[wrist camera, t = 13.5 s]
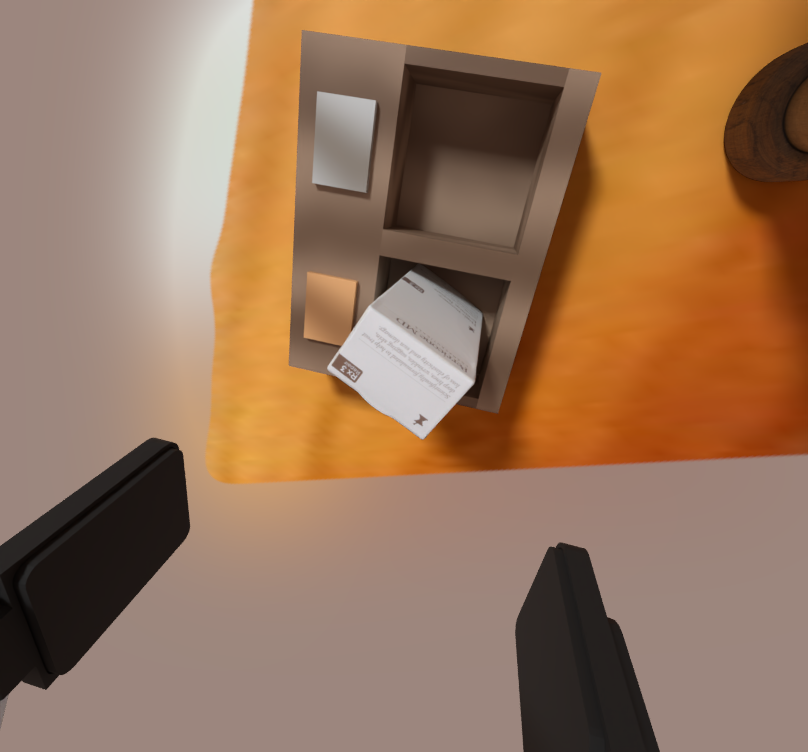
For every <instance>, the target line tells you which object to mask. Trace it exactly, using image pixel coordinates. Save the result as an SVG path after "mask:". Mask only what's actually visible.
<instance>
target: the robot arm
mask: <svg viewBox="0 0 808 752" xmlns="http://www.w3.org/2000/svg"><path fill="white" fill-rule="evenodd" d="M189 521H190V520H189V510H188V500H187V490H186V479H185V470H184V459H183V453H182V451H180V450H179V447H178V445H177V444H176V443H173V442H169V441H165V440H161V439H157V438H151V439H149V440H147V441H145V442H144V443H142V444H141V445H140V446H138V447H137V448H135V449H134V450H133V451H131V452H130V453H129V454H127V455H126V456H124V457H123V458H122V459H120V460H119V461H117V462H116V463H115V464H113V465H112V466H110V467H109V468H108V469H106V470H105V471H104V472H102V473H101V474H99V475H98V476H97V477H95V478H94V479H92V480H91V481H90V482H88V483H87V484H86V485H84V486H83V487H81V488H80V489H79V490H78V491H76V492H74V493H73V494H72V495H70V496H69V497H67V498H66V499H65V500H63V501H62V502H61V503H59V504H58V505H56V506H55V507H54V508H52V509H51V510H49V512H47V513H45V514H44V515H42V516H41V517H40V518H38V519H37V520H36V521H34V522H33V523H32V524H30V525H29V526H27V527H26V528H25V529H23V530H22V531H20V532H19V533H18V534H16V535H15V536H13V537H12V538H11V539H9V540H8V541H7V542H5V543H4V544H2V545H1V546H0V728H1V724H2V720H3V716H4V712H5V707H6V703H7V699H8V695H9V693H10V692H11V691H12V690H13V689H14V688H15V687H16V686H17V685H18V684H19V683H20V681H23V682H25V683H28V684H30V685H33V686H36V687H39V688H42V689H45V690H46V689H47V688H48V687H49V686H50V685H51V684H52V682H54V680H55V679H56V678H57V677H58V676H59V675H63V674H65V673H67V672H68V671H70V670H71V669H72V668H73V667H74V666H75V665H76V664H77V662H78V661H79V660H80V659H81V658H82V657H83V656H84V654H85V653H86V652H87V651H88V650H89V649H90V648H91V647H92V645H93V644H94V643H95V642H96V641H97V640H98V639H99V637H100V636H101V635H102V634H103V633H104V632H105V631H106V629H107V628H108V627H109V626H110V625H111V624H112V623H113V621H114V620H115V619H116V618H117V617H118V616H119V615H120V613H121V612H122V611H123V610H124V609H125V608H126V606H127V605H128V604H129V603H130V602H131V601H132V600H133V598H134V597H135V596H136V595H137V594H138V593H139V592H140V590H141V589H142V588H143V587H144V586H145V585H146V584H147V582H148V581H149V580H150V579H151V578H152V577H153V576H154V574H155V573H156V572H157V571H158V570H159V569H160V568H161V566H162V565H163V564H164V563H165V562H166V561H167V560H168V558H169V557H170V556H171V555H172V554H173V553H174V551H175V550H176V549H177V548H178V547H179V546H180V545H181V544H182V542H183V541H184V540H185V539H186V537H187V535H188V533H189V529H190V522H189ZM515 636H516V649H517V664H518V677H519V692H520V706H521V721H522V735H523V749H524V752H660V751H659V748H658V744H657V742H656V738H655V735H654V732H653V729H652V726H651V722H650V719H649V716H648V713H647V710H646V706H645V703H644V700H643V697H642V694H641V691H640V688H639V685H638V681H637V678H636V675H635V672H634V668H633V665H632V662H631V659H630V656H629V653H628V650H627V646H626V643H625V640H624V637H623V634H622V631H621V629H620V627H619V625H618V624H617V622H616V621H615V620H613V619H611V618H608V617H607V615H606V612H605V609H604V605H603V602H602V598H601V595H600V591H599V588H598V585H597V581H596V578H595V574H594V571H593V567H592V564H591V561H590V557H589V554H588V552H587V550H586V549H584V548H580V547H577V546H573V545H568V544H565V543H559V544H558V545H557V546H556V548H555V547H549V548H548V550H547V552H546V555H545V557H544V559H543V561H542V564H541V566H540V568H539V570H538V573H537V575H536V577H535V579H534V582H533V584H532V586H531V588H530V591H529V593H528V595H527V597H526V600H525V602H524V604H523V606H522V609H521V611H520V613H519V615H518V618H517V622H516V630H515Z"/></svg>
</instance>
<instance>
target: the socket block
mask: <svg viewBox="0 0 808 752" xmlns="http://www.w3.org/2000/svg"><path fill="white" fill-rule="evenodd" d="M600 76H601V73H599V72H592V71H585V70H578V69H571V68H564V67H557V66H550V65H543V64H536V63H529V62H522V61H515V60H508V59H501V58H494V57H487V56H480V55H473V54H466V53H459V52H452V51H445V50H438V49H431V48H424V47H417V46H410V45H403V44H396V43H389V42H382V41H375V40H368V39H361V38H354V37H347V36H340V35H333V34H326V33H319V32H312V31H305V30H302V42H301V67H300V93H299V119H298V144H297V170H296V196H295V221H294V247H293V273H292V298H291V324H290V350H289V366H293V367H297V368H301V369H306V370H310V371H314V372H319V373H323V374H327V375H332V376H335V375H333V374H332V373H330V372H329V371H328V369H327V367H328V365H329V364H330V362H331V361H332V359H333V358H334V356H335V355H336V353H337V352H338V351H339V349H340V348H341V346H342V345H343V344H344V342H345V341H346V339H347V338H348V336H349V335H350V333H351V332H352V330H353V329H354V327H355V326H356V324H357V323H358V321H359V320H360V318H361V317H362V315H363V314H364V312H365V311H366V309H367V308H368V307H369V305H370V304H372V303H373V302H374V301H375V300H376V299H377V298H378V297H379V296H381V295H382V294H383V293H385V292H386V291H387V290H388V289H389V288H391V287H392V286H393V285H394V284H395V283H396V282H398V281H399V280H400V279H401V278H402V277H403V276H405V275H406V274H407V273H408V272H409V271H410V270H412V269H413V268H414V267H415V266H416V265H417V264H421V265H423V266H424V267H426V268H427V269H429V270H430V271H432V272H433V273H434V274H436V275H437V276H438V277H440V278H441V279H442V280H444V281H445V282H446V283H448V284H449V285H450V286H451V287H453V288H454V289H455V290H457V291H458V292H459V293H460V294H461V295H463V296H464V297H465V298H466V299H467V300H469V301H470V302H471V303H472V304H473V305H474V306H475V307H477V308H478V309H479V310H480V311H481V313H482V314H483V319H482V328H481V336H480V344H479V352H478V361H477V367H476V378H475V383H474V385H473V386H472V387H471V388H470V389H469V390H468V391H467V392H466V393H465V394H464V395H463V397H462V398H461V399H460V400H459V401H458V402H457V403H456V404H458V405H463V406H467V407H471V408H476V409H480V410H484V411H489V412H493V413H497V414H498V412H499V408H500V405H501V402H502V398H503V395H504V392H505V389H506V385H507V382H508V379H509V375H510V372H511V369H512V366H513V362H514V359H515V356H516V352H517V349H518V346H519V342H520V339H521V336H522V333H523V329H524V326H525V323H526V319H527V316H528V313H529V310H530V306H531V303H532V300H533V296H534V293H535V290H536V287H537V283H538V280H539V277H540V273H541V270H542V267H543V264H544V260H545V257H546V254H547V250H548V247H549V244H550V240H551V237H552V234H553V231H554V227H555V224H556V221H557V217H558V214H559V211H560V208H561V204H562V201H563V198H564V194H565V191H566V188H567V185H568V181H569V178H570V175H571V171H572V168H573V165H574V162H575V158H576V155H577V152H578V148H579V145H580V142H581V138H582V135H583V132H584V129H585V125H586V122H587V119H588V115H589V112H590V109H591V106H592V102H593V99H594V96H595V92H596V89H597V86H598V83H599V79H600Z"/></svg>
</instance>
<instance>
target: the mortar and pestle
mask: <svg viewBox="0 0 808 752" xmlns="http://www.w3.org/2000/svg"><path fill="white" fill-rule="evenodd" d="M724 142H725V149H726V153H727V156H728V158H729V160H730V162H731V164H732V165H733V167H734V168H735V169H736V170H737V171H738V172H739V173H741V174H742V175H744V176H746V177H748V178H750V179H753V180H757V181H763V182H783V181H801V180H808V43H806V44H804V45H801V46H799V47H797V48H795V49H792V50H790V51H788V52H787V53H785V54H783V55H781V56H779V57H778V58H776V59H775V60H773V61H772V62H770V63H769V64H768V65H767V66H765V67H764V68H763V69H762V70H760V71H759V72H758V73H757V74H756V75H755V76H754V77H753V78H752V79H751V80H750V81H749V83H748V84H747V85H746V86H745V87H744V89H743V90H742V91H741V93H740V94H739V96H738V98H737V99H736V101H735V103H734V105H733V107H732V109H731V111H730V114H729V116H728V119H727V123H726V128H725V137H724Z"/></svg>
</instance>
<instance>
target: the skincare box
mask: <svg viewBox="0 0 808 752" xmlns="http://www.w3.org/2000/svg"><path fill="white" fill-rule="evenodd" d="M482 319H483V314H482V313H481V311H480V310H479V309H478V308H477V307H475V306H474V305H473V304H472V303H471V302H470V301H469V300H467V299H466V298H465V297H464V296H463V295H461V294H460V293H459V292H458V291H457V290H455V289H454V288H453V287H451V286H450V285H449V284H448V283H446V282H445V281H444V280H442V279H441V278H440V277H438V276H437V275H436V274H434V273H433V272H432V271H430V270H429V269H427V268H426V267H424V266H423V265H421V264H417V265H416V266H415V267H414V268H413V269H412V270H410V271H409V272H408V273H407V274H406V275H405V276H403V277H402V278H401V279H400V280H399V281H398V282H396V283H395V284H394V285H393V286H392V287H391V288H389V289H388V290H387V291H386V292H385V293H383V294H382V295H381V296H379V297H378V298H377V299H376V300H375V301H374V302H373V303H372V304H370V305H369V307H368V308H367V309H366V311H365V312H364V314H363V315H362V317H361V318H360V320H359V321H358V323H357V324H356V326H355V327H354V329H353V330H352V332H351V333H350V335H349V336H348V338H347V339H346V341H345V342H344V344H343V345H342V346H341V348H340V349H339V351H338V352H337V353H336V355H335V356H334V358H333V359H332V361H331V362H330V364H329V365H328V367H327V369H328V371H329V372H330V373H332V374H333V375H335V376H336V377H337V378H339V379H340V380H342V381H343V382H344V383H346V384H347V385H348V386H350V387H351V388H353V389H354V390H355V391H357V392H358V393H359V394H360V395H361V396H362V397H363V398H364V399H365V400H366V401H367V402H368V403H369V404H370V405H371V406H373V407H374V408H375V409H377V410H378V411H380V412H381V413H383V414H385V415H387V416H390V417H392V418H393V419H395V420H396V421H397V422H399V423H400V424H401V425H403V426H404V427H406V428H407V429H408V430H410V431H411V432H412V433H414V434H415V435H416V436H418V437H419V438H420V439H425V438H426V436H427V435H428V434H429V433H430V432H431V430H432V429H433V428H434V427H435V426H436V425H437V424H438V423H439V422H440V421H441V420H442V418H443V417H444V416H445V415H446V414H447V413H448V412H449V411H450V410H451V409H452V407H453V406H454V405H455V404H456V403H457V402H458V401H459V400H460V399H461V398H462V397H463V395H464V394H465V393H466V392H467V391H468V390H469V389H470V388H471V387H472V386H473V385H474V383H475V378H476V367H477V361H478V352H479V344H480V336H481V328H482Z"/></svg>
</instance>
